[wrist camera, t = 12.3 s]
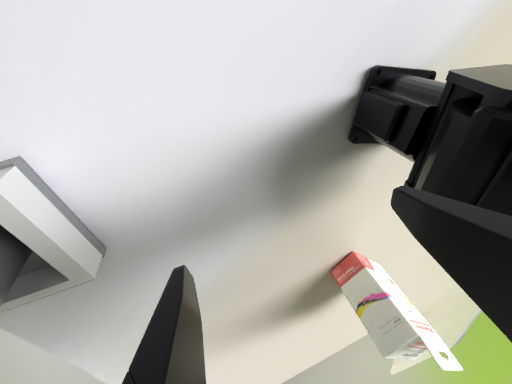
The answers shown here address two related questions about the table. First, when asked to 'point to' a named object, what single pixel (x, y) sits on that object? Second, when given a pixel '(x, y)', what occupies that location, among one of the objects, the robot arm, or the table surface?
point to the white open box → (44, 236)
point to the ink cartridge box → (389, 313)
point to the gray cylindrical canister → (10, 260)
